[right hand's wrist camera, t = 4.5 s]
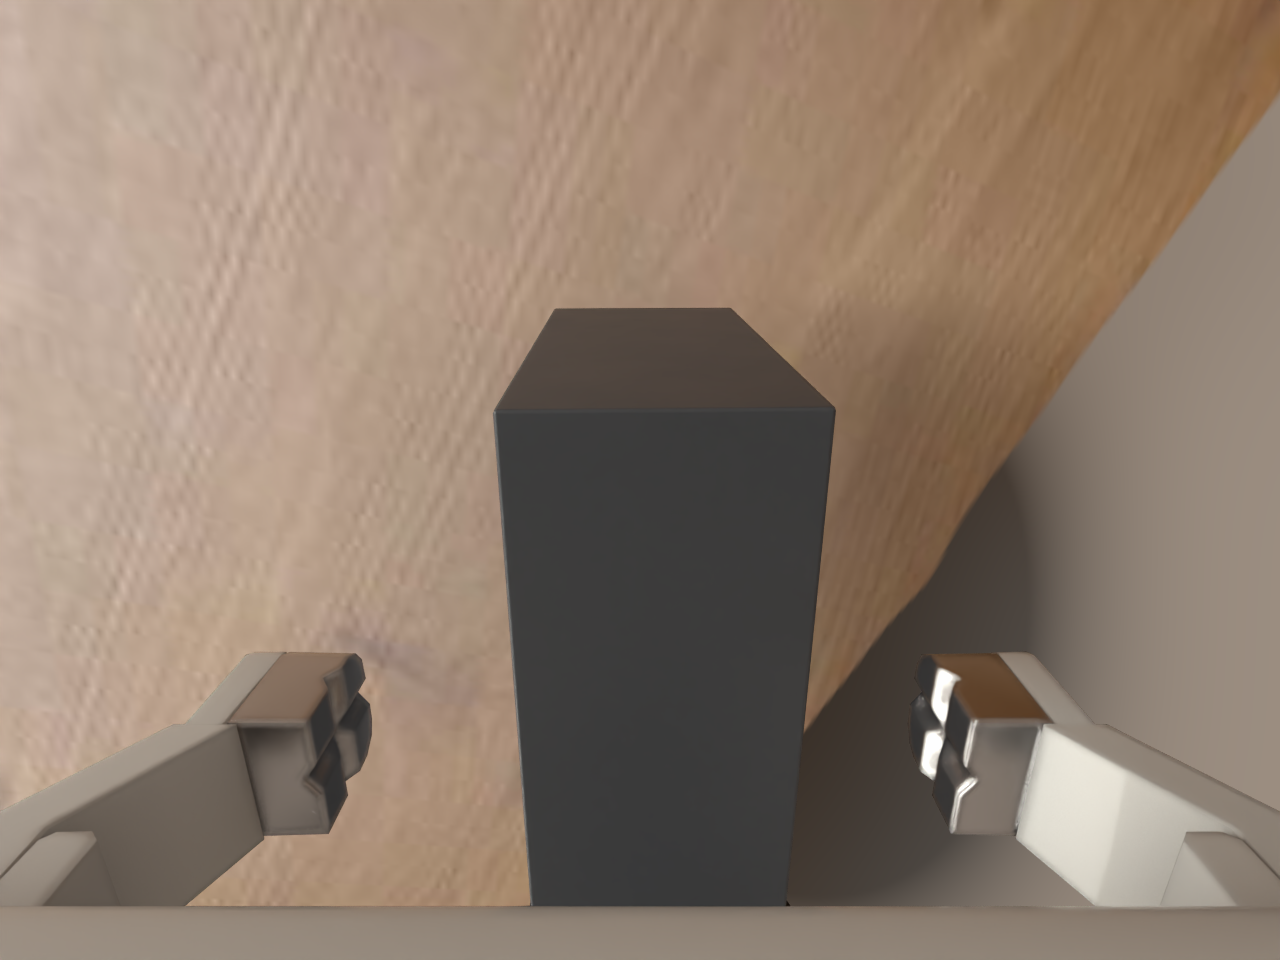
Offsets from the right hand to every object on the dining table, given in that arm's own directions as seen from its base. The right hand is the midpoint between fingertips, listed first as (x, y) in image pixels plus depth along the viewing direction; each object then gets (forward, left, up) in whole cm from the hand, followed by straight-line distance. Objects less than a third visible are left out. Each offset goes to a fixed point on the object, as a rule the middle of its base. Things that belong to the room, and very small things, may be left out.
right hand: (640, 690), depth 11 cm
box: (+7, 0, -16) cm, 18 cm away
